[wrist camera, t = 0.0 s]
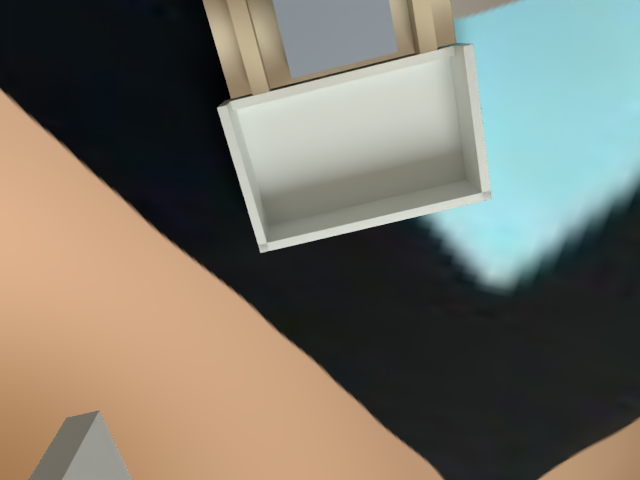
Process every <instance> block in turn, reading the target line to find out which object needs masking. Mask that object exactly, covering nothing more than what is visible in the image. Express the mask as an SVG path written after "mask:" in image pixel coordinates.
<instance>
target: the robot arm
mask: <svg viewBox="0 0 640 480" xmlns="http://www.w3.org/2000/svg"><path fill="white" fill-rule="evenodd" d="M29 480H132V478H131V476H130V474H129V472H128V470H127V468H126V466H125V464H124V461H123V459H122V457H121V455H120V453H119V451H118V449H117V447H116V445H115V443H114V441H113V438H112V436H111V434H110V432H109V430H108V428H107V426H106V424H105V422H104V420H103V418H102V416H101V414H100V411H95V412H91V413H86V414H82V415H77V416H73V417H68V418H66V420H65V421H64V423H63V425H62V426H61V428H60V429H59V431H58V433H57V434H56V436H55V438H54V439H53V441H52V442H51V444H50V446H49V447H48V449H47V451H46V453H45V454H44V455H43V457H42V459H41V460H40V462H39V464H38V465H37V467H36V469H35V470H34V472H33V473H32V475H31V477H30V479H29Z"/></svg>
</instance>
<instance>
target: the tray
mask: <svg viewBox="0 0 640 480" xmlns="http://www.w3.org/2000/svg"><path fill="white" fill-rule="evenodd" d="M217 109H218V113H219V116H220V119H221V123H222V126H223V129H224V133H225V136H226V139H227V143H228V146H229V149H230V153H231V156H232V159H233V163H234V166H235V169H236V173H237V176H238V179H239V182H240V186H241V189H242V192H243V196H244V199H245V202H246V206H247V209H248V212H249V216H250V219H251V222H252V226H253V229H254V232H255V236H256V239H257V242H258V246H259V249H260V252H261V253H262V252H267V251H271V250H275V249H280V248H284V247H288V246H292V245H297V244H301V243H305V242H310V241H314V240H318V239H322V238H327V237H331V236H335V235H340V234H344V233H348V232H352V231H357V230H361V229H365V228H370V227H374V226H378V225H383V224H387V223H391V222H395V221H400V220H404V219H408V218H413V217H417V216H421V215H425V214H430V213H434V212H438V211H443V210H447V209H451V208H456V207H460V206H464V205H468V204H473V203H477V202H481V201H486V200H490V199H492V196H491V187H490V179H489V171H488V163H487V154H486V146H485V138H484V130H483V121H482V113H481V105H480V97H479V88H478V80H477V72H476V64H475V55H474V47H473V44H465V43H453V44H449V45H445V46H441V47H437V50H434V51H430V52H426V53H422V54H418V53H413V54H409V55H405V56H401V57H397V58H393V59H389V60H385V61H381V62H377V63H373V64H369V65H365V66H361V67H357V68H353V69H349V70H345V71H341V72H337V73H333V74H329V75H325V76H321V77H317V78H313V79H309V80H305V81H301V82H297V83H293V84H289V85H285V86H281V87H277V88H273V89H270V91H269V92H265V93H261V94H257V95H252V94H249V95H245V96H241V97H237V98H233V99H228V100H225V101H224V102H223V103H222V104H221V105H219V106H218V107H217Z"/></svg>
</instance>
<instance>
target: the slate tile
mask: <svg viewBox="0 0 640 480" xmlns="http://www.w3.org/2000/svg"><path fill="white" fill-rule="evenodd" d="M272 1H273V5H274V9H275V13H276V17H277V21H278V25H279V29H280V33H281V37H282V41H283V45H284V50H285V54H286V58H287V62H288V66H289V70H290V74H291V78H296V77H300V76H304V75H308V74H312V73H316V72H320V71H324V70H328V69H332V68H336V67H340V66H344V65H348V64H352V63H356V62H360V61H364V60H368V59H372V58H376V57H380V56H384V55H388V54H392V53H396V52H398V50H397V44H396V38H395V33H394V27H393V21H392V15H391V9H390V3H389V0H272Z"/></svg>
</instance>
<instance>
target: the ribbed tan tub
mask: <svg viewBox="0 0 640 480" xmlns="http://www.w3.org/2000/svg"><path fill="white" fill-rule="evenodd" d="M203 3H204V7H205V10H206V14H207V17H208V21H209V24H210V27H211V31H212V34H213V38H214V41H215V45H216V48H217V52H218V55H219V59H220V62H221V65H222V69H223V72H224V76H225V79H226V83H227V86H228V90H229V93H230V97H231V99H233V98H237V97H241V96H245V95H249V94H252V95H257V94H261V93H265V92H269V91H270V89H273V88H277V87H281V86H285V85H289V84H293V83H297V82H301V81H305V80H309V79H313V78H317V77H321V76H325V75H329V74H333V73H337V72H341V71H345V70H349V69H353V68H357V67H361V66H365V65H369V64H373V63H377V62H381V61H385V60H389V59H393V58H397V57H401V56H405V55H409V54H413V53H418V54H422V53H426V52H430V51H434V50H437V47H441V46H445V45H449V44H453V43H456V39H455V31H454V24H453V16H452V9H451V1H450V0H389V3H390V9H391V15H392V21H393V27H394V33H395V38H396V44H397V50H398V52H396V53H392V54H388V55H384V56H380V57H376V58H372V59H368V60H364V61H360V62H356V63H352V64H348V65H344V66H340V67H336V68H332V69H328V70H324V71H320V72H316V73H312V74H308V75H304V76H300V77H296V78H291V74H290V70H289V66H288V62H287V58H286V54H285V50H284V45H283V41H282V37H281V33H280V29H279V25H278V21H277V17H276V13H275V9H274V5H273V1H272V0H203Z"/></svg>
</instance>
